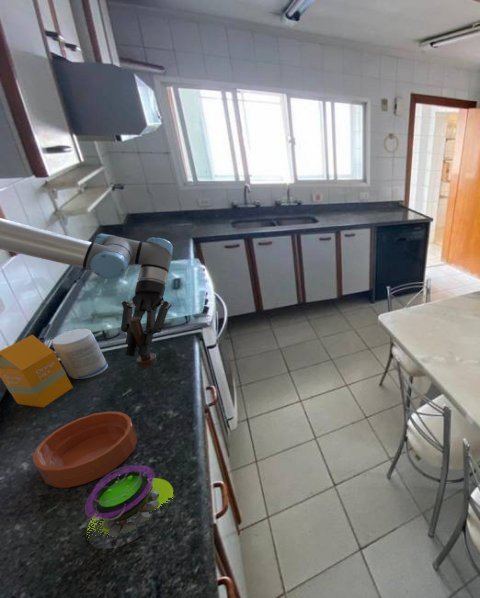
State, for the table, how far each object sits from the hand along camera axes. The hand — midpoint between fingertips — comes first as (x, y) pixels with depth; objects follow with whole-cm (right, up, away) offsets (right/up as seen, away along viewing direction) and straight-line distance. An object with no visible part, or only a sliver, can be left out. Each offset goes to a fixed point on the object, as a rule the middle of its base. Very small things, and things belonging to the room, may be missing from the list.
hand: (135, 355), depth 99 cm
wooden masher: (-1, -3, +6) cm, 7 cm away
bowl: (+3, -23, -17) cm, 28 cm away
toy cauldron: (+22, -29, -28) cm, 46 cm away
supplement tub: (-24, -8, +11) cm, 27 cm away
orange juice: (-25, -13, -1) cm, 29 cm away
